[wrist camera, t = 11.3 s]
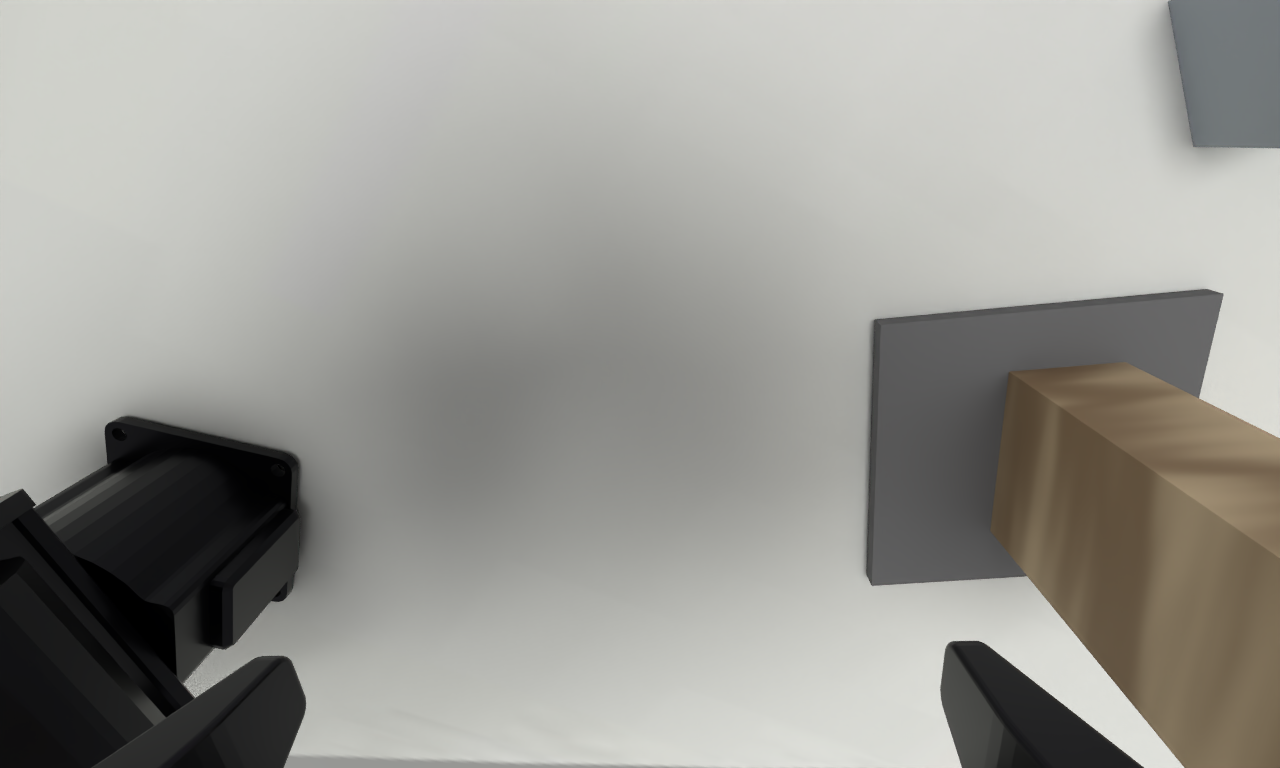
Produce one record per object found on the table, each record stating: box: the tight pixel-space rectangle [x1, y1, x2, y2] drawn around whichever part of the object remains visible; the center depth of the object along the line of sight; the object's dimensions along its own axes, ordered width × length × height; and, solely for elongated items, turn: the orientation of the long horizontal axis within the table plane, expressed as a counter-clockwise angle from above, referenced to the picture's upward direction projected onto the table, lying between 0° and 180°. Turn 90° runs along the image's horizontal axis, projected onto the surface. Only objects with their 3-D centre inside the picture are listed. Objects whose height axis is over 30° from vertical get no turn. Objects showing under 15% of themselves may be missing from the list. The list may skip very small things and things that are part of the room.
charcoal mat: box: [867, 289, 1223, 586], centre depth 21 cm, size 10×10×1 cm
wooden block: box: [990, 362, 1280, 768], centre depth 14 cm, size 4×6×14 cm, turn 6°
